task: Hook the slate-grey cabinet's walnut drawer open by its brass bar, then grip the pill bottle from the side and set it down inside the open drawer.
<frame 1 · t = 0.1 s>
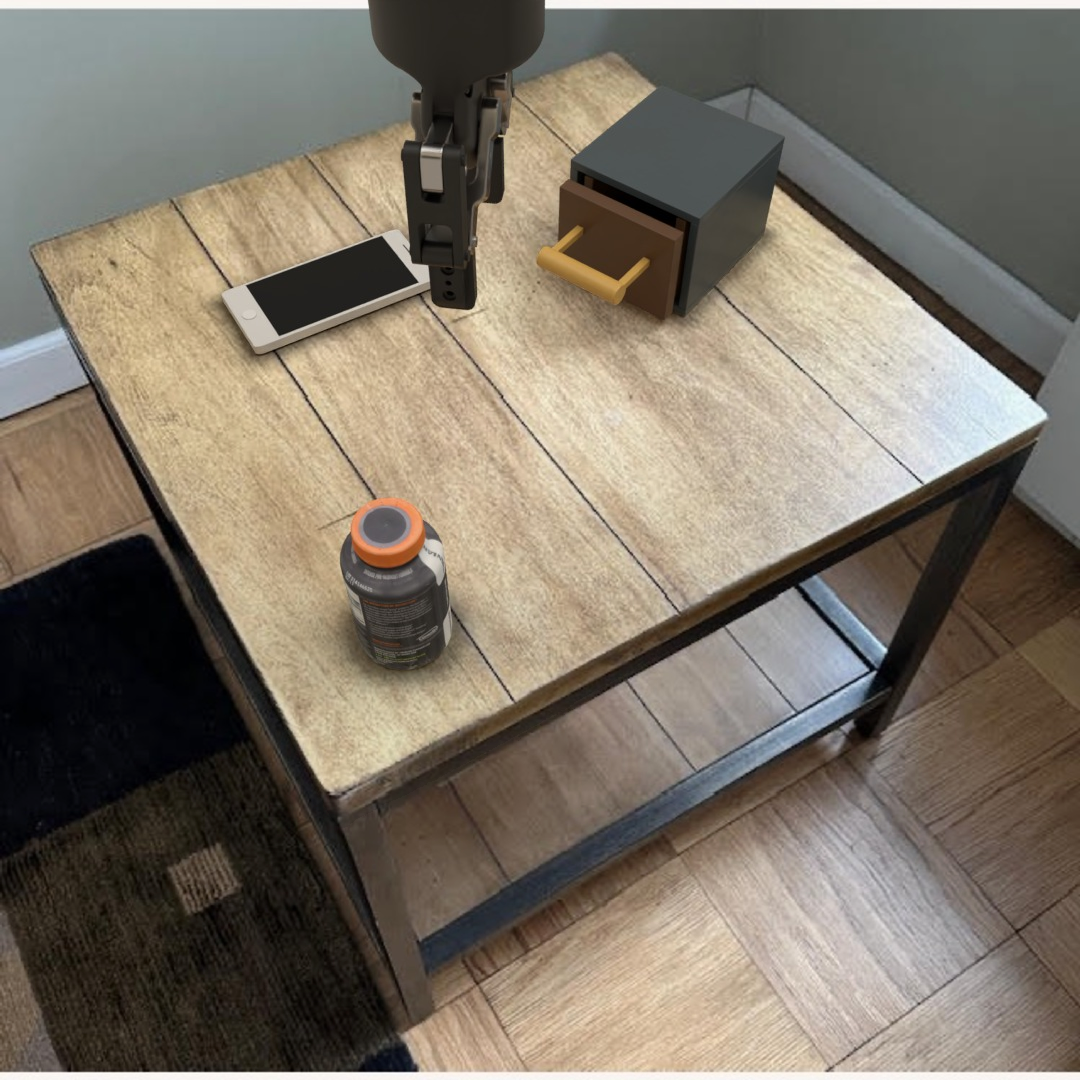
hand: (470, 249, 57), 22 cm above the table, tool pointing down, fingers open, 8 cm apart
drawer: (636, 233, 84), point 5 cm above the table, slide at 1.0 cm
pill bottle: (405, 633, 69), on the table
smartphone: (331, 295, 87), on the table
cabinet: (666, 247, 91), on the table
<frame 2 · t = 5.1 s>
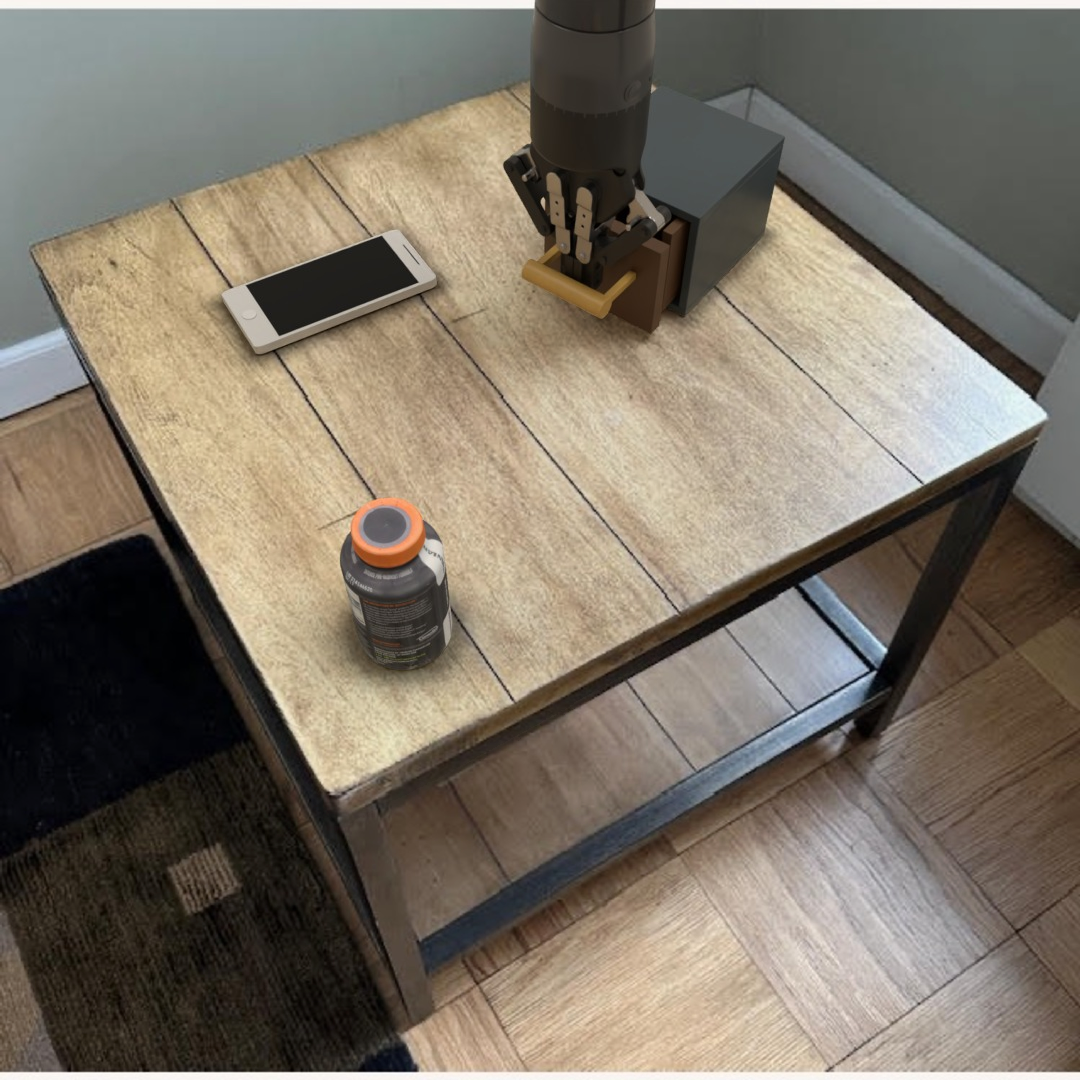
hand: (580, 289, 81), 4 cm above the table, tool pointing down, fingers closed
drawer: (622, 245, 83), point 5 cm above the table, slide at 2.8 cm, touching gripper
everything else where it was.
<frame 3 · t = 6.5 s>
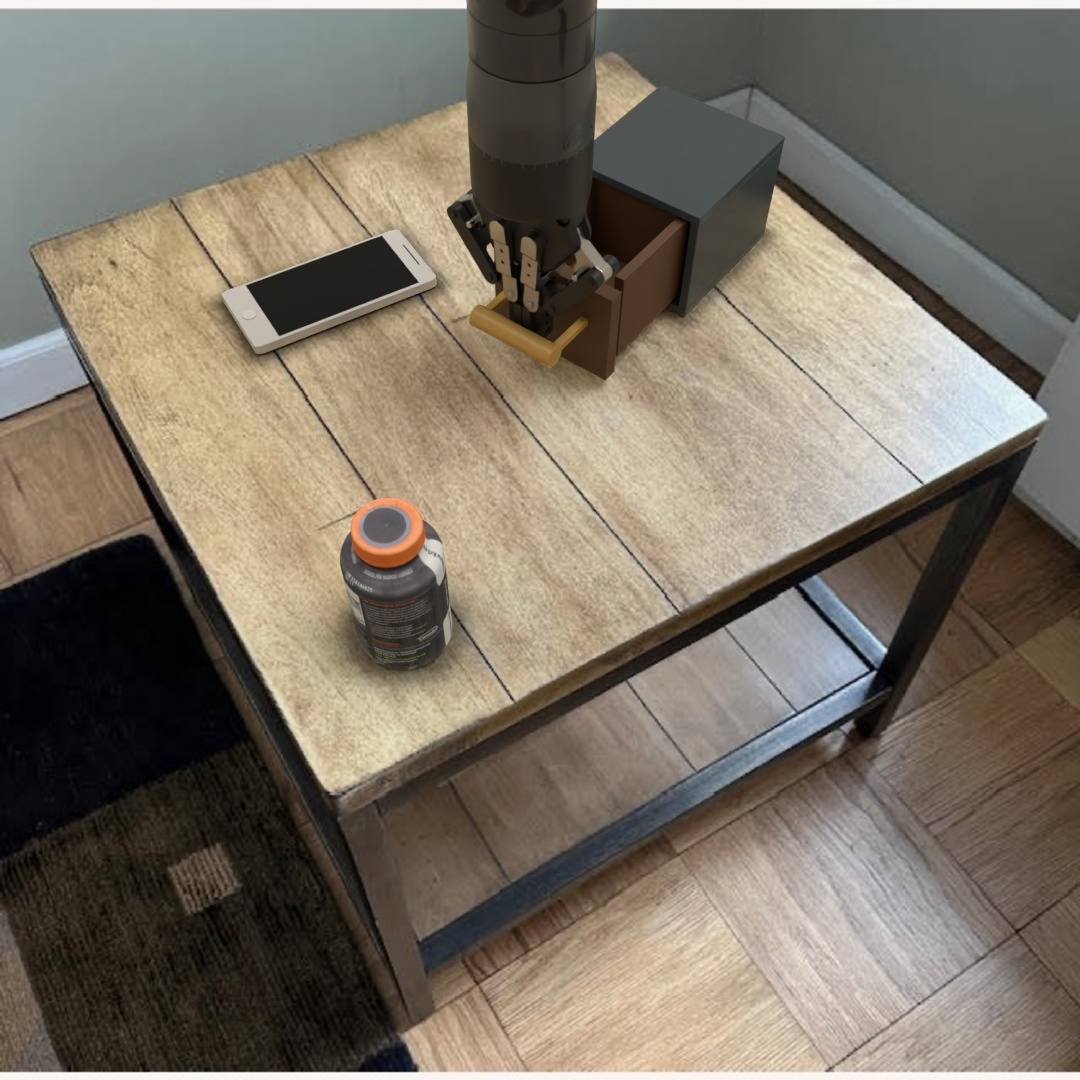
hand: (530, 336, 78), 4 cm above the table, tool pointing down, fingers closed
drawer: (576, 288, 81), point 5 cm above the table, slide at 8.9 cm, touching gripper
everything else where it was.
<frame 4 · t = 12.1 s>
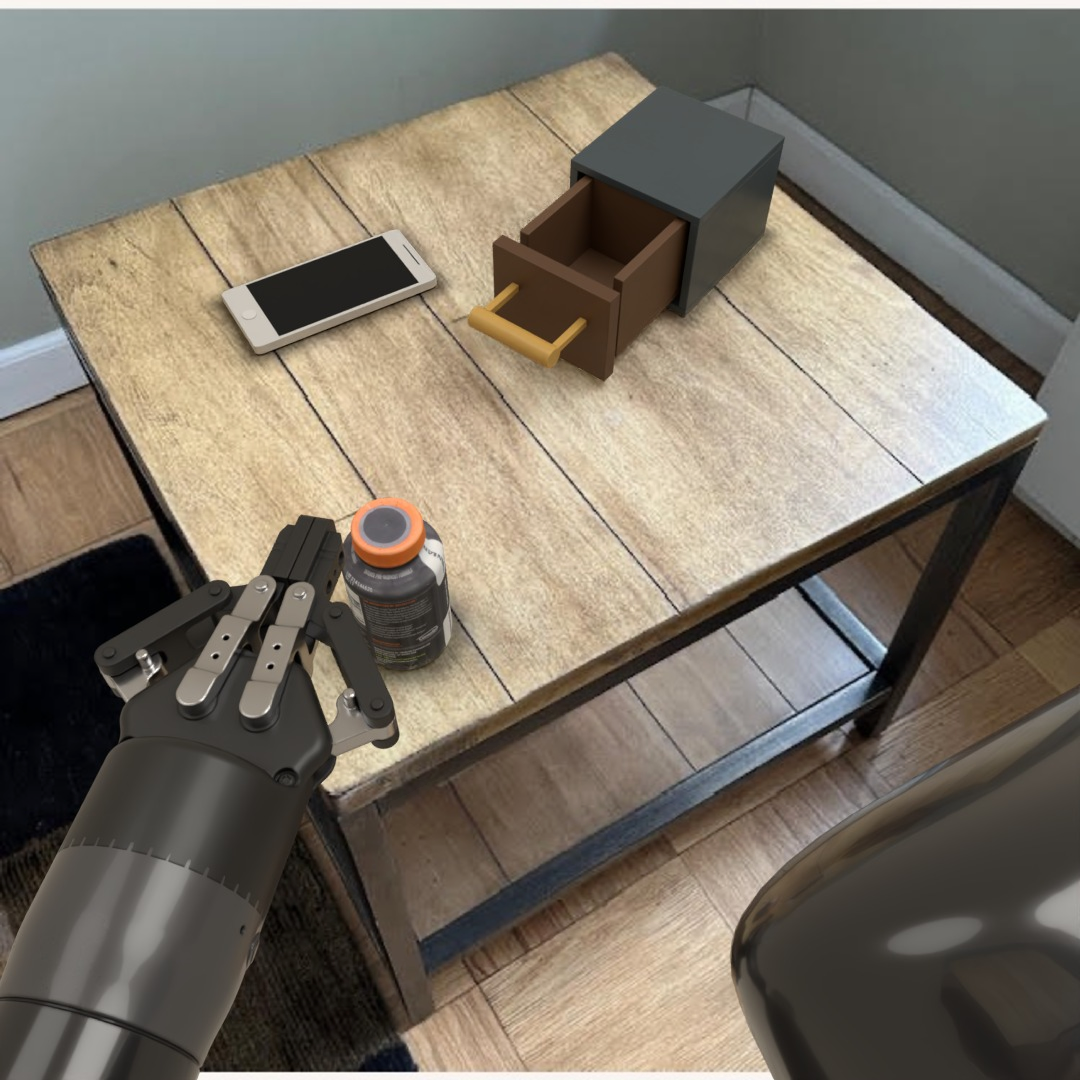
hand: (320, 528, 49), 20 cm above the table, tool horizontal, fingers closed
drawer: (574, 289, 80), point 5 cm above the table, slide at 9.1 cm
everything else where it was.
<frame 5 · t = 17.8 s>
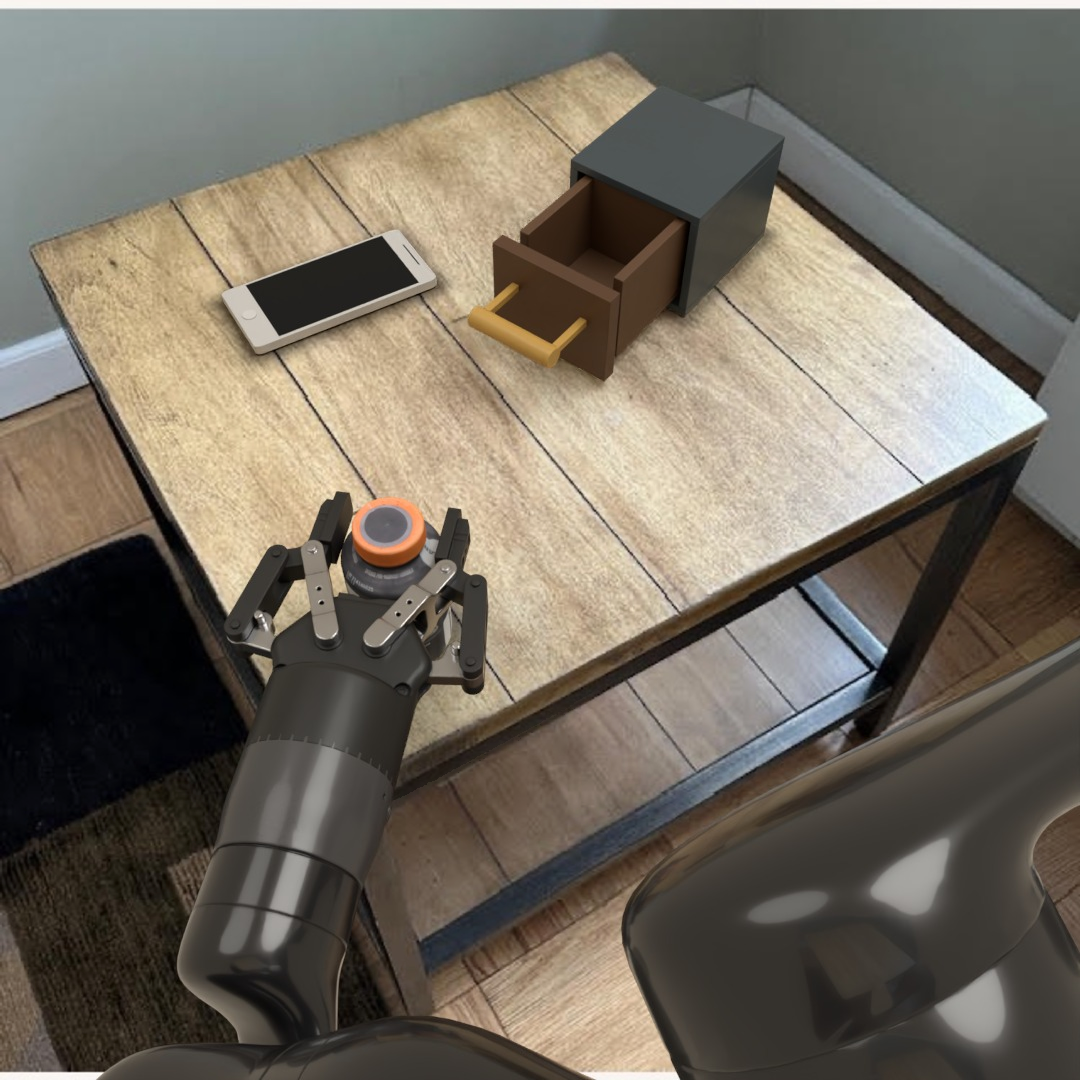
hand: (399, 509, 62), 10 cm above the table, tool horizontal, fingers closed on pill bottle, 6 cm apart
pill bottle: (405, 632, 69), on the table, touching gripper
everything else where it was.
when the fingers open (11 cm above the table, at t = 27.1 s): pill bottle stays where it is, resting on drawer.
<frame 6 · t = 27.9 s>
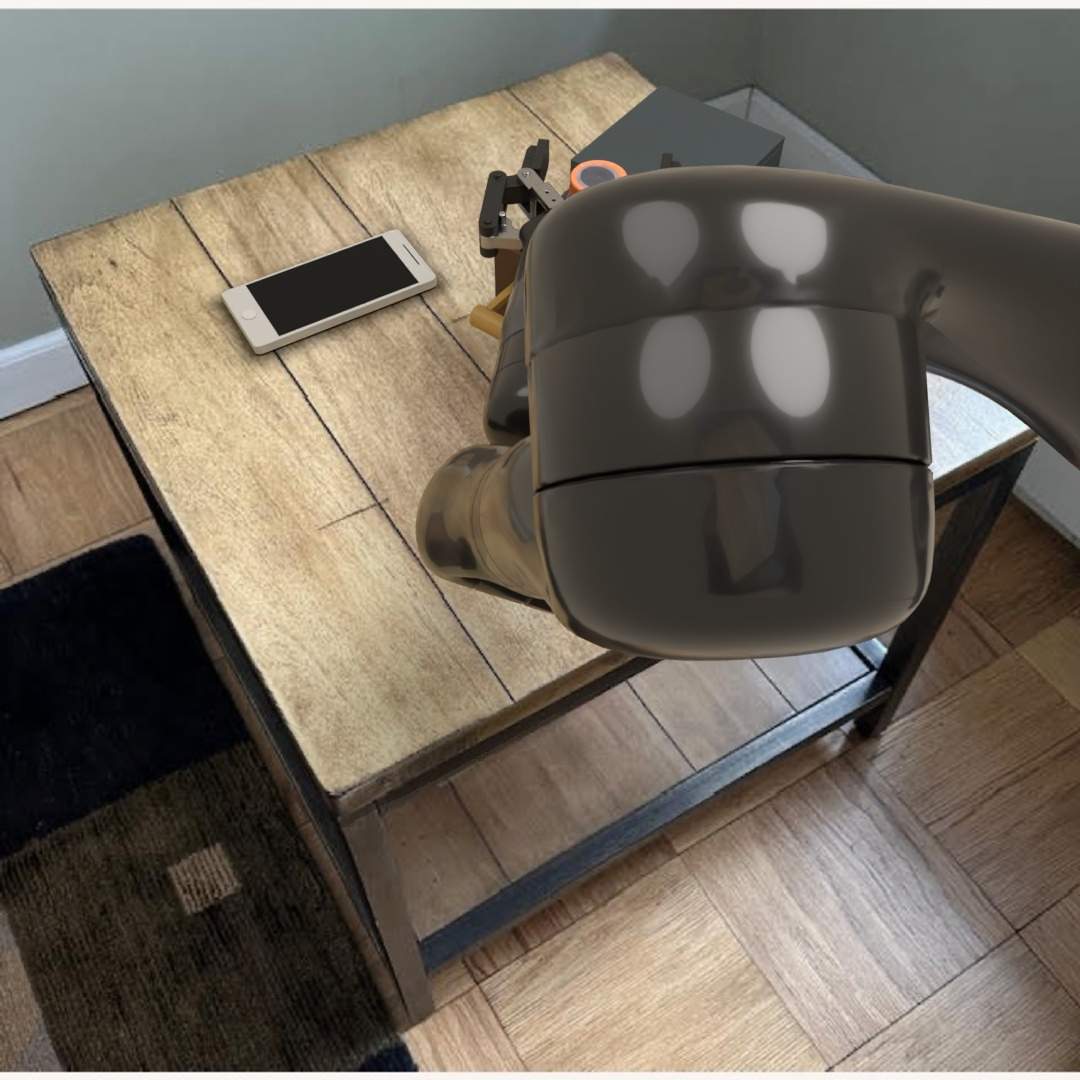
hand: (604, 156, 76), 13 cm above the table, tool horizontal, fingers open, 8 cm apart
drawer: (576, 288, 81), point 5 cm above the table, slide at 8.9 cm, touching pill bottle
pill bottle: (591, 303, 84), point 2 cm above the table, touching drawer
everything else where it was.
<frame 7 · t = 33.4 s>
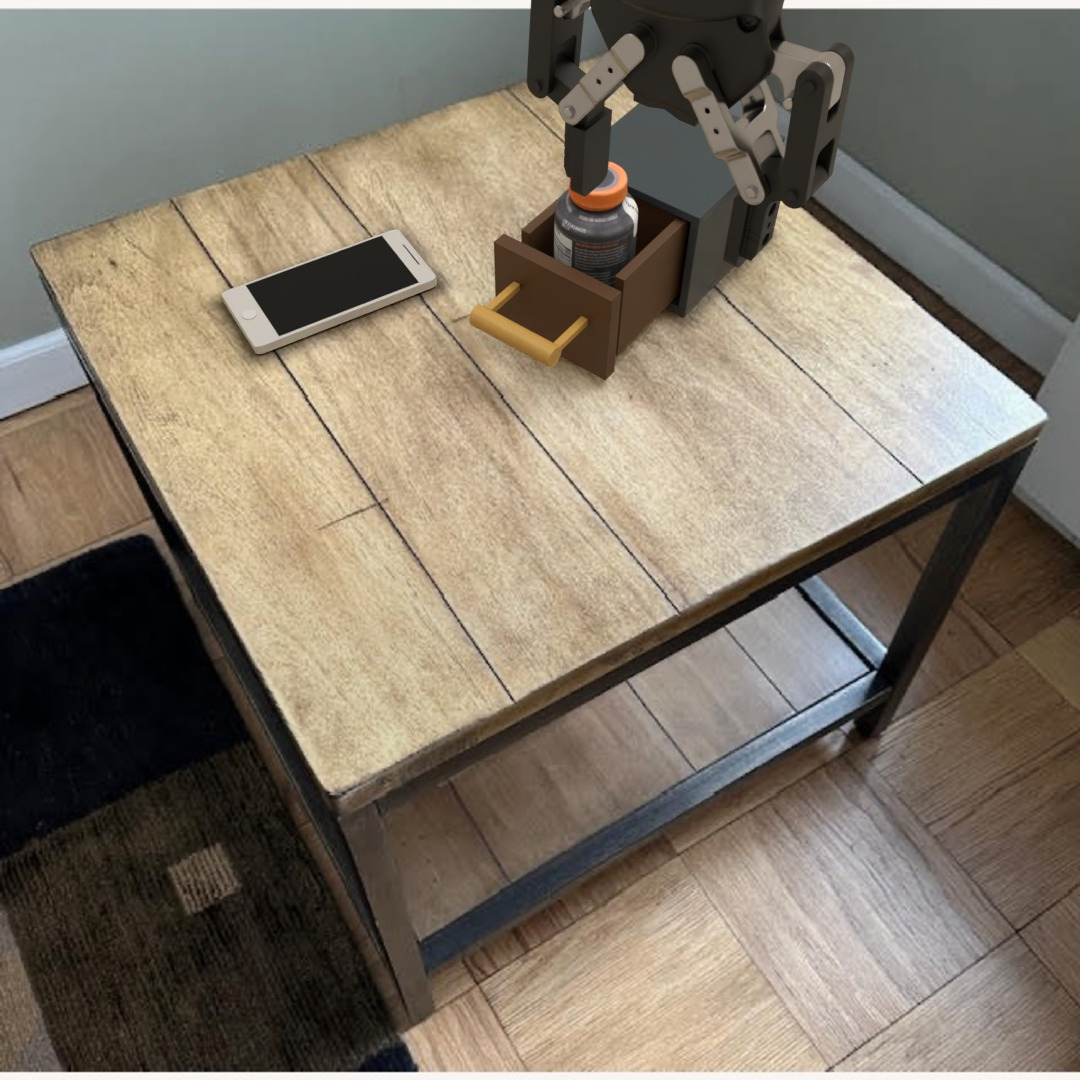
hand: (662, 220, 52), 26 cm above the table, tool pointing down, fingers open, 8 cm apart
nothing on the table moved.
at the end: drawer slide at 8.9 cm; pill bottle inside the target area in the drawer (0.1 cm from its centre), point 1.7 cm above the cabinet's base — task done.
